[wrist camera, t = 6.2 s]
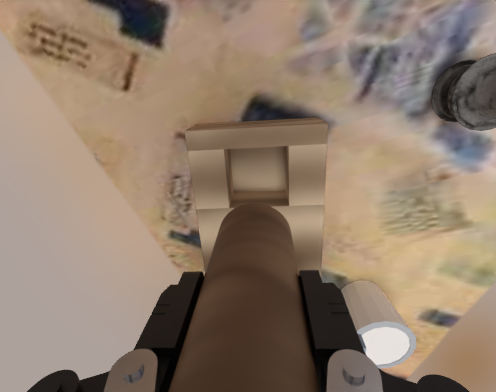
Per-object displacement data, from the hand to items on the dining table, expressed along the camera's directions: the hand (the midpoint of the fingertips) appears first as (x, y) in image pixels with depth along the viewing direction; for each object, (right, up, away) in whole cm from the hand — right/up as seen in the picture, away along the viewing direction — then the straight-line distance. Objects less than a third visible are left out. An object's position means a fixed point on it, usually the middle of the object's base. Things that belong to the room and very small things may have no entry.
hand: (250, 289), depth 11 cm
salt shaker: (+20, +13, +14) cm, 28 cm away
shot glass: (+14, -9, +24) cm, 29 cm away
